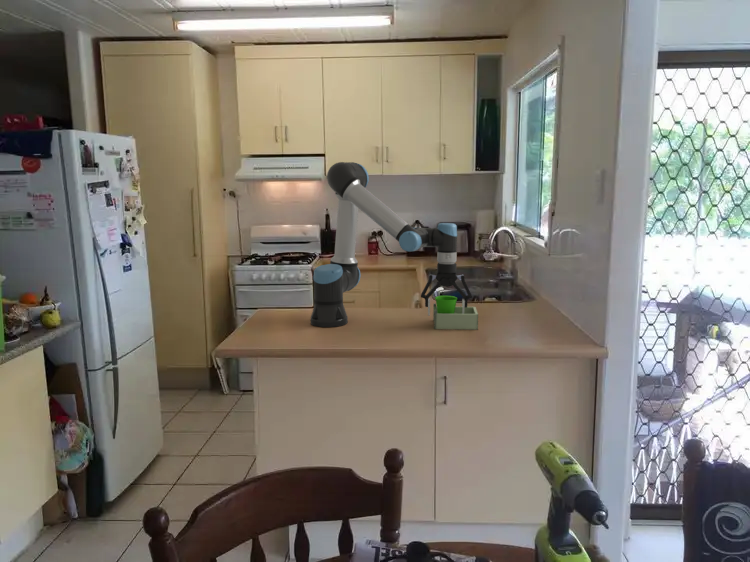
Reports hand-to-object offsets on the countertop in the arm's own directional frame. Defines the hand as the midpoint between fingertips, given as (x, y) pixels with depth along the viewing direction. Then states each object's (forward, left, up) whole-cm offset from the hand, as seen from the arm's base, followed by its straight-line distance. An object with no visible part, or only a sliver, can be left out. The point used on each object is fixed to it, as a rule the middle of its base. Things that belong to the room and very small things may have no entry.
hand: (445, 315), depth 235 cm
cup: (0, 0, -4) cm, 4 cm away
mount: (+4, 0, -4) cm, 5 cm away
